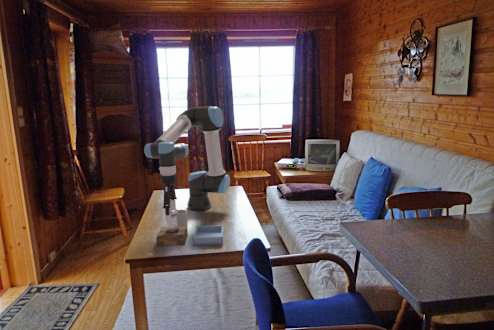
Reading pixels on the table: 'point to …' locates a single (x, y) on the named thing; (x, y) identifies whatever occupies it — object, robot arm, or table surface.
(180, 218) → the cup
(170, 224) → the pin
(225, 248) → the table surface
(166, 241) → the socket block
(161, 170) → the robot arm
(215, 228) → the tray
